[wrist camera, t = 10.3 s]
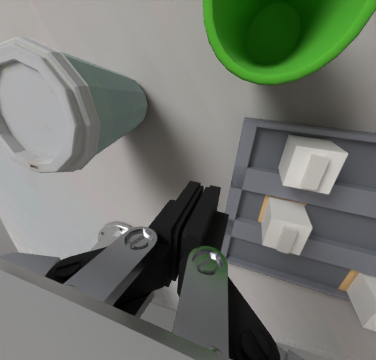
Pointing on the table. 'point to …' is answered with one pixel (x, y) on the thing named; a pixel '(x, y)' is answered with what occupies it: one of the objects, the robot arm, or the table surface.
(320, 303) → the table surface
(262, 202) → the switch board
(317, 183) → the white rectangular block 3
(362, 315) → the white stepped block
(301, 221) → the white stepped block
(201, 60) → the table surface
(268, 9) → the cup
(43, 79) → the disposable coffee cup
